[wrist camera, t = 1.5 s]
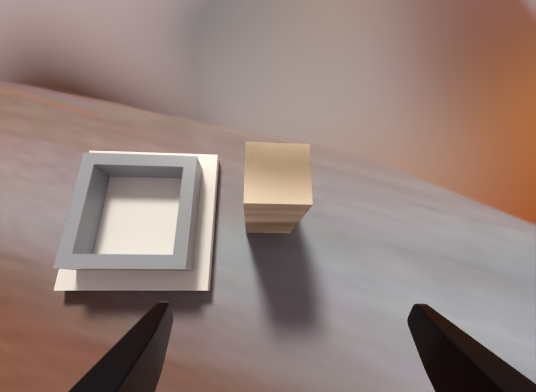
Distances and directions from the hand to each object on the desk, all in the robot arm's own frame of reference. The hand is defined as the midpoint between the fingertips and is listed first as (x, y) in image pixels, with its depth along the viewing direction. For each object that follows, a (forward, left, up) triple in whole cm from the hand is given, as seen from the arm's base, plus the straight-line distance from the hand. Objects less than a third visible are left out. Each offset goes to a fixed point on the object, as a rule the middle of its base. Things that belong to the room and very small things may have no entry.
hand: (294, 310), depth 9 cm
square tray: (+5, +11, -13) cm, 18 cm away
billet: (+7, +1, -13) cm, 15 cm away
